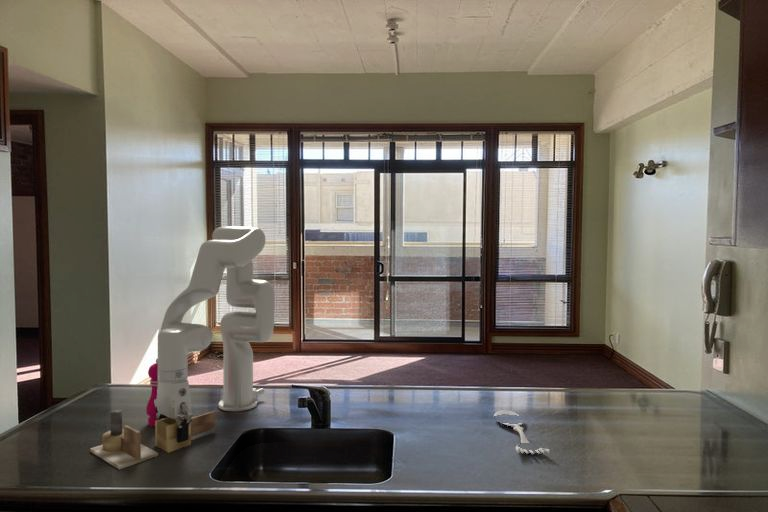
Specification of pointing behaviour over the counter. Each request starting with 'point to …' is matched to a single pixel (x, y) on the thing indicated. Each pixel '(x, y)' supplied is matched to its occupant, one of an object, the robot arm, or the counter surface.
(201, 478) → the counter surface
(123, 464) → the hinge base
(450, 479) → the counter surface
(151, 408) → the pepper mill
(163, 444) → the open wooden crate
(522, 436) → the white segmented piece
